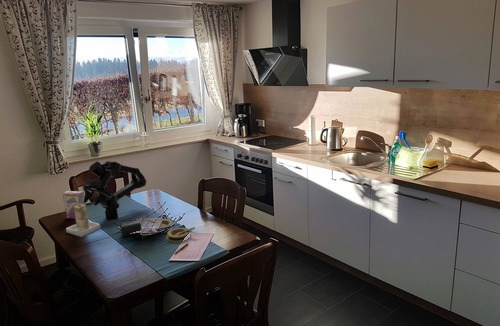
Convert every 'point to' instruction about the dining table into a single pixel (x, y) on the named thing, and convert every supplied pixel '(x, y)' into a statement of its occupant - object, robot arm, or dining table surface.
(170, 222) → the tableware set
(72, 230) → the tray
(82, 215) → the maple block
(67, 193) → the candy bar box
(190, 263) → the dining table surface
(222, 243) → the dining table surface
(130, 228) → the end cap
